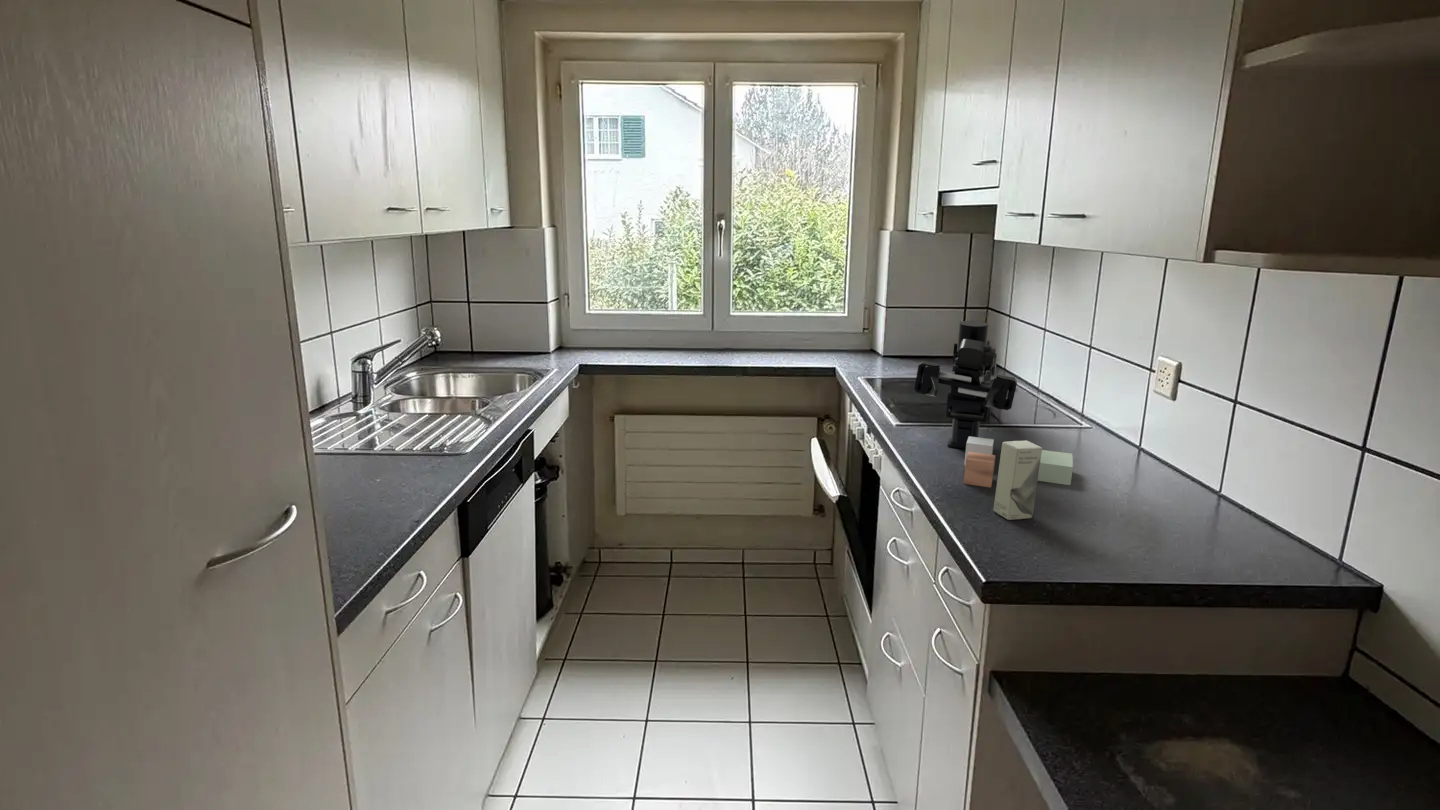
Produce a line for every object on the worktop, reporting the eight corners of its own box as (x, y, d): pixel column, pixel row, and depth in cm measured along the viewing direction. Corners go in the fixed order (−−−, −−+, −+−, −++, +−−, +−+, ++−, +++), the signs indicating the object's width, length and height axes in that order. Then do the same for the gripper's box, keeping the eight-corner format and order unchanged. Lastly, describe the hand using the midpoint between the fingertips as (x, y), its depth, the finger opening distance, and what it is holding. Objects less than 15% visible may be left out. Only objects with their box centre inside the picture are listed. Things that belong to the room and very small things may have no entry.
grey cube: (966, 458, 163) (968, 436, 162) (991, 462, 161) (993, 439, 160) (964, 466, 159) (966, 442, 158) (989, 469, 157) (992, 446, 156)
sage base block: (1022, 466, 160) (1024, 447, 159) (1069, 472, 157) (1072, 453, 156) (1020, 479, 152) (1022, 460, 151) (1070, 486, 149) (1072, 467, 148)
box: (1007, 521, 131) (1016, 449, 128) (992, 511, 135) (1000, 441, 132) (1034, 518, 133) (1043, 446, 129) (1018, 508, 137) (1026, 439, 133)
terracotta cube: (966, 475, 153) (968, 451, 152) (992, 479, 151) (995, 455, 150) (963, 483, 149) (966, 459, 147) (990, 487, 147) (993, 462, 145)
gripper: (929, 328, 159) (917, 348, 145) (1024, 345, 153) (1022, 367, 139) (919, 379, 163) (907, 403, 149) (1012, 397, 157) (1008, 423, 143)
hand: (960, 398), depth 145 cm, fingers open, 9 cm apart
